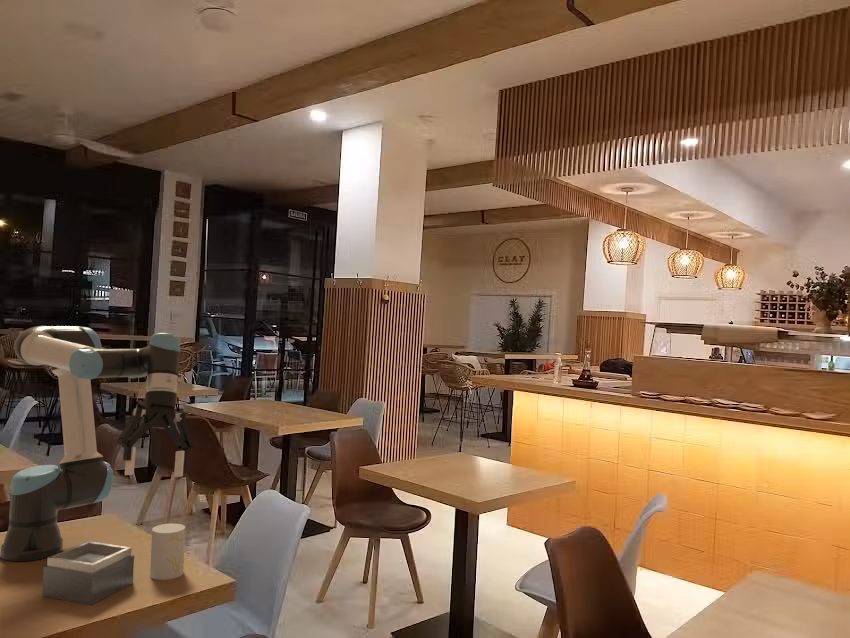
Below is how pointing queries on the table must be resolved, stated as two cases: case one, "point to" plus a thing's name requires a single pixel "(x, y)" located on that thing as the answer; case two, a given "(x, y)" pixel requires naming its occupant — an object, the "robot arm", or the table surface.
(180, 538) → the cup
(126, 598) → the table surface
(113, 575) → the box
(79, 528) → the table surface
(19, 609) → the table surface
